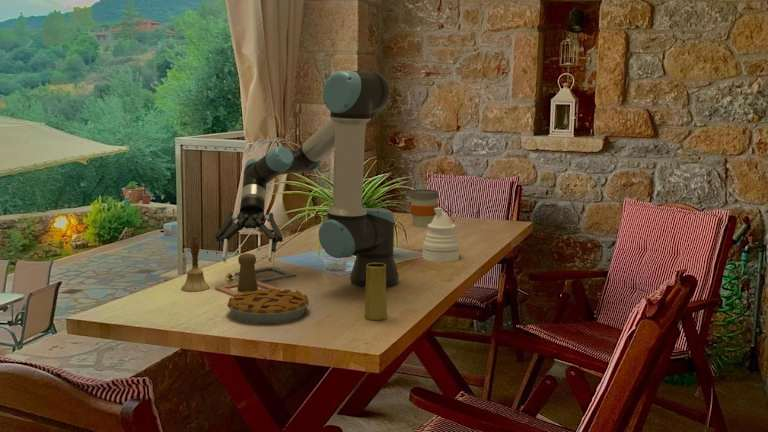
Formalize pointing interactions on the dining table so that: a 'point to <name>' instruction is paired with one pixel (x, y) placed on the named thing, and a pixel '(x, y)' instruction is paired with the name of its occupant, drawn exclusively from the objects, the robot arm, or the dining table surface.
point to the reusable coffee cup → (423, 206)
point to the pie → (268, 305)
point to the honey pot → (441, 239)
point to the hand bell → (195, 271)
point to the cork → (247, 273)
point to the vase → (375, 292)
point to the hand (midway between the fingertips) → (246, 259)
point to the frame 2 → (285, 275)
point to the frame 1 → (226, 287)
